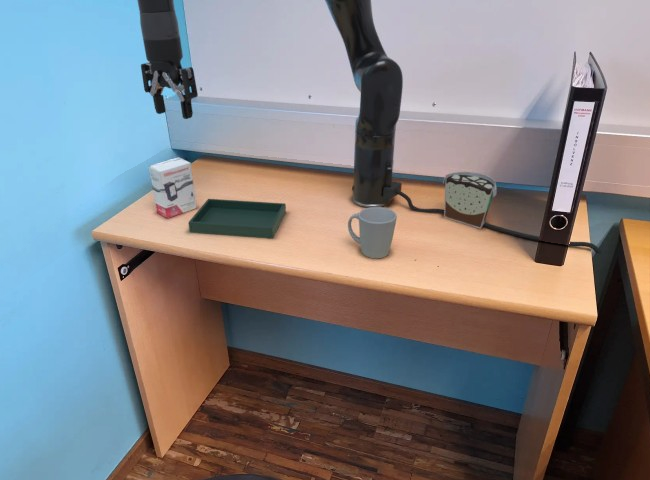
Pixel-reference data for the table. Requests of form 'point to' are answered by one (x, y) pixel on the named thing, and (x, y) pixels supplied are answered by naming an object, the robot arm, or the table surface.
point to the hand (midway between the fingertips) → (174, 115)
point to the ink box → (173, 187)
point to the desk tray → (238, 218)
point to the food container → (468, 197)
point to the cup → (374, 231)
